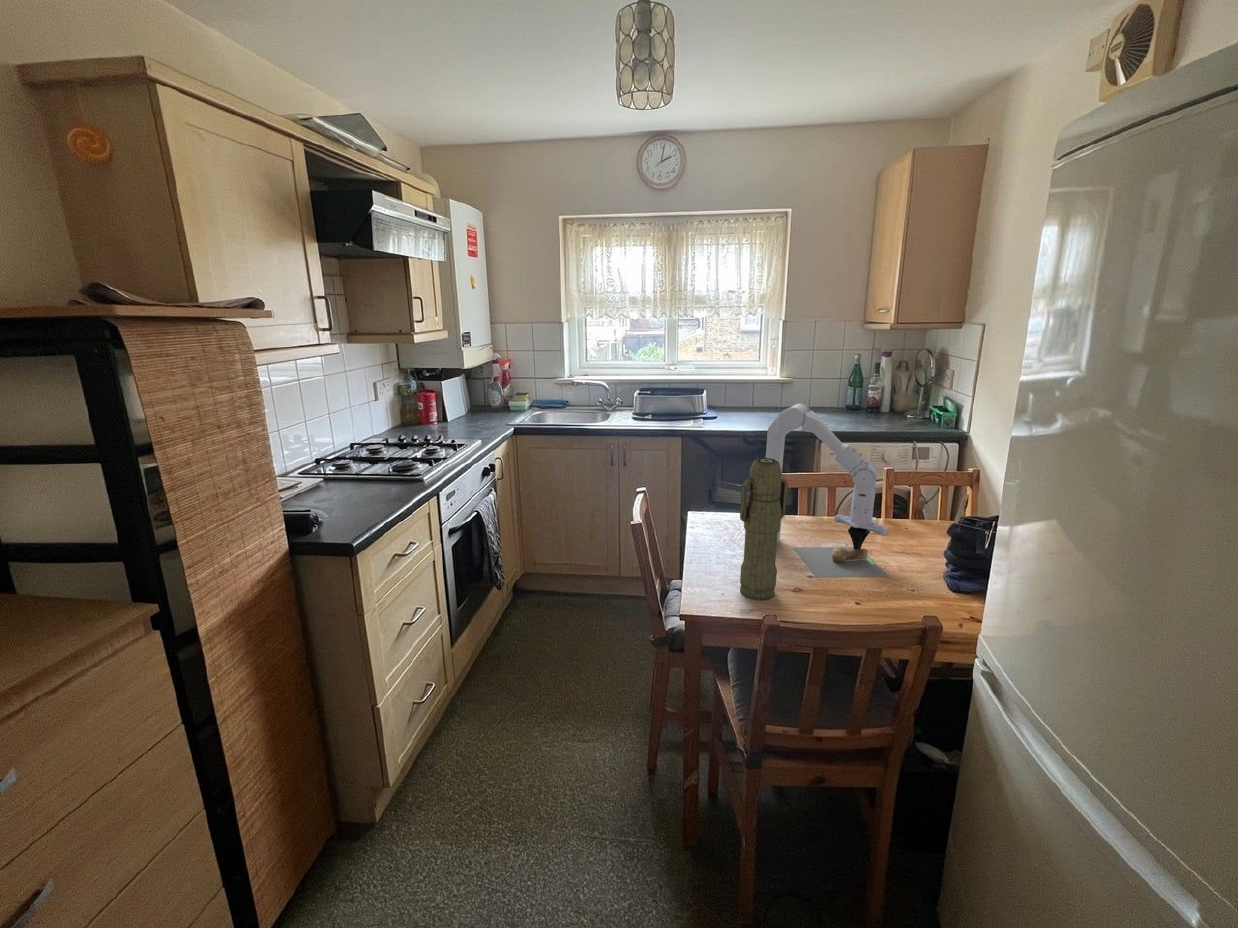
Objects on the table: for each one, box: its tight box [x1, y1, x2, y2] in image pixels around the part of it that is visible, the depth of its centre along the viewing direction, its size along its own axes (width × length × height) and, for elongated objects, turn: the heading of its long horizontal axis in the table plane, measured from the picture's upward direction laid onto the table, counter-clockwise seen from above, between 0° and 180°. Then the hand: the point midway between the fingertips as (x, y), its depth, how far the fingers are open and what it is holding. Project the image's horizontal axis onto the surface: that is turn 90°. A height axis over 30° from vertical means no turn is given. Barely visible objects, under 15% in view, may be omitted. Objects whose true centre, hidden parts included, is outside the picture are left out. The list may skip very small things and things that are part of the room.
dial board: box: [792, 546, 891, 578], centre depth 162 cm, size 20×20×1 cm
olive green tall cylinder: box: [739, 457, 789, 601], centre depth 142 cm, size 9×12×35 cm
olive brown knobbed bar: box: [832, 546, 868, 562], centre depth 162 cm, size 10×4×3 cm, turn 97°
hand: (857, 551), depth 164 cm, fingers closed
